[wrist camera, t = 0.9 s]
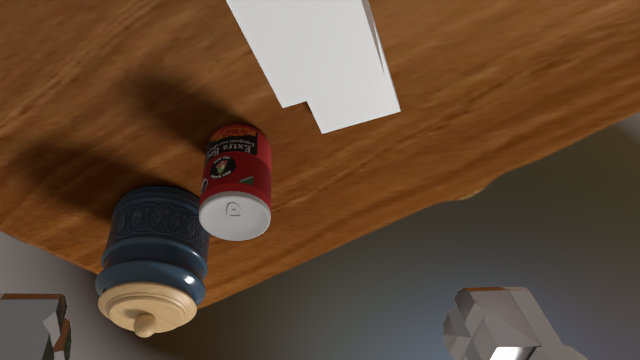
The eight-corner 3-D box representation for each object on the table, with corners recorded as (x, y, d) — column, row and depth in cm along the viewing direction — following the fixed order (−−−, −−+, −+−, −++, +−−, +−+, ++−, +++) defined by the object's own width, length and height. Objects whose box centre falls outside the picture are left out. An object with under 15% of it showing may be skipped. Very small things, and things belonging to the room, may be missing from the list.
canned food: (256, 114, 60) (254, 189, 53) (281, 160, 66) (281, 232, 59) (195, 131, 61) (184, 206, 54) (224, 174, 67) (217, 247, 60)
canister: (94, 196, 69) (57, 322, 57) (184, 172, 67) (165, 299, 55) (147, 248, 79) (125, 365, 67) (228, 229, 76) (219, 348, 65)
